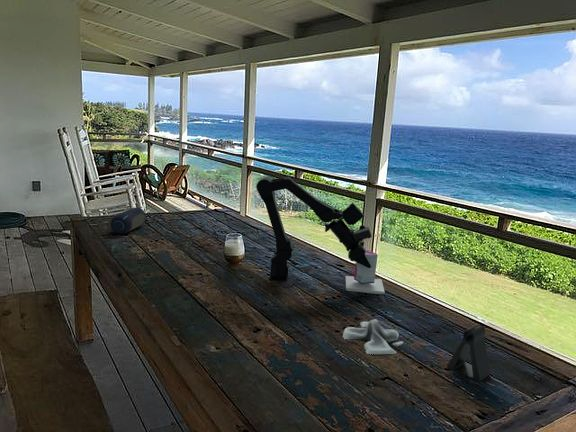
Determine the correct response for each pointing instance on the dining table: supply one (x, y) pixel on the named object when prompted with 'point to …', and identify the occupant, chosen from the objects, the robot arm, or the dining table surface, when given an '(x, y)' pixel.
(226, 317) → the dining table surface
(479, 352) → the phone stand
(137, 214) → the portable speaker
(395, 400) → the dining table surface
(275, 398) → the dining table surface
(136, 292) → the dining table surface
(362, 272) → the supplement box
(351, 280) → the mat
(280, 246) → the robot arm
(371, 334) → the cloth
